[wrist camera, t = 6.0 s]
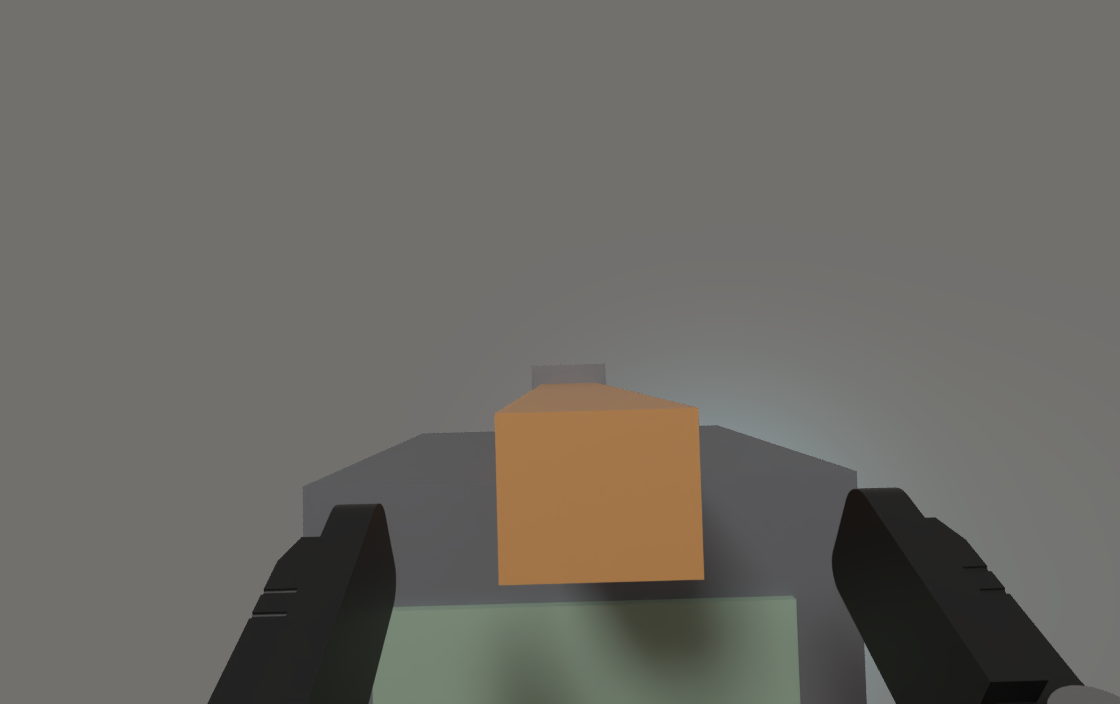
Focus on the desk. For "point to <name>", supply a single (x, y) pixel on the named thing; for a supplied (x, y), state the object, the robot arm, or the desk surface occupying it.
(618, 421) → the lever bar
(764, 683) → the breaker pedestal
